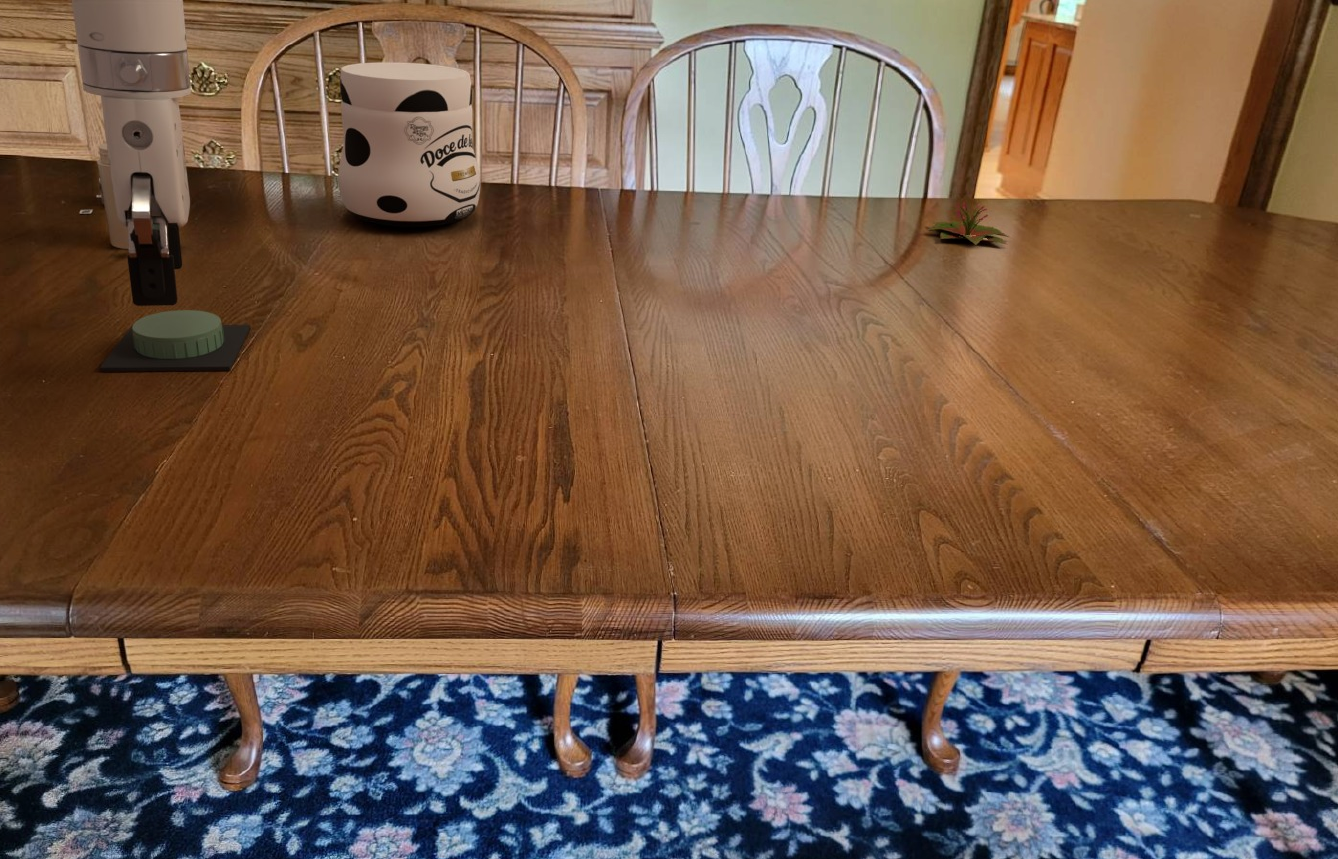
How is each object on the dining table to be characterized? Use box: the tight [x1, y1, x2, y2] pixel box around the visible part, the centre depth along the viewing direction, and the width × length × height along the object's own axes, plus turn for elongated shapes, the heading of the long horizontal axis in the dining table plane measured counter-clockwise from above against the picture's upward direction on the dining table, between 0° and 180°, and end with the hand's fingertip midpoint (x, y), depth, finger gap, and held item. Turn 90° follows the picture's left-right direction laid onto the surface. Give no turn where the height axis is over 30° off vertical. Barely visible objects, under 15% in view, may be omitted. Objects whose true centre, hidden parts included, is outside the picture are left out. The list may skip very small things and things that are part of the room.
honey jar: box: [96, 142, 129, 250], centre depth 116 cm, size 6×6×11 cm
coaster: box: [99, 324, 251, 373], centre depth 91 cm, size 10×10×1 cm
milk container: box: [337, 61, 481, 228], centre depth 130 cm, size 17×17×18 cm
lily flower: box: [925, 202, 1010, 246], centre depth 143 cm, size 12×12×5 cm
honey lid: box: [131, 309, 224, 359], centre depth 91 cm, size 7×7×2 cm
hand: (159, 285), depth 88 cm, fingers open, 9 cm apart
